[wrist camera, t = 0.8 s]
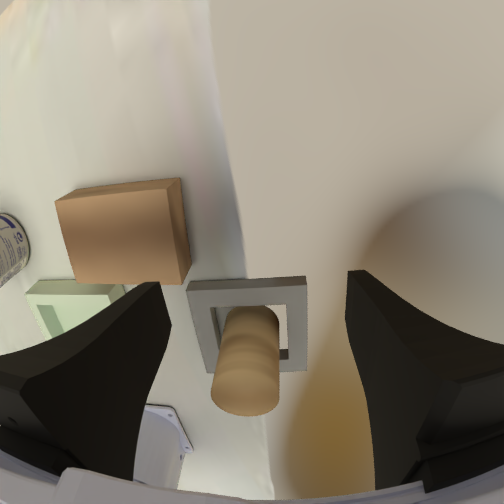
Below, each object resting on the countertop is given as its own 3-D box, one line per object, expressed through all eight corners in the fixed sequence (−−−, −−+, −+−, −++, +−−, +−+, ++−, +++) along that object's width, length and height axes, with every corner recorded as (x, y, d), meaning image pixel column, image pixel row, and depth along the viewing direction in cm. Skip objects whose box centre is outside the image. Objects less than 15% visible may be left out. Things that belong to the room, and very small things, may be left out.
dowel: (280, 343, 24) (280, 415, 18) (229, 345, 25) (217, 415, 18) (277, 301, 23) (277, 374, 16) (221, 304, 23) (204, 375, 17)
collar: (306, 360, 25) (306, 370, 24) (209, 362, 26) (207, 373, 25) (305, 275, 21) (307, 284, 20) (190, 281, 22) (185, 290, 21)
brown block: (192, 262, 22) (181, 284, 19) (95, 263, 23) (76, 283, 20) (181, 176, 19) (166, 188, 17) (78, 188, 20) (54, 201, 17)
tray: (151, 364, 26) (143, 383, 24) (74, 357, 27) (64, 372, 25) (120, 278, 23) (107, 294, 20) (38, 280, 23) (24, 294, 21)
